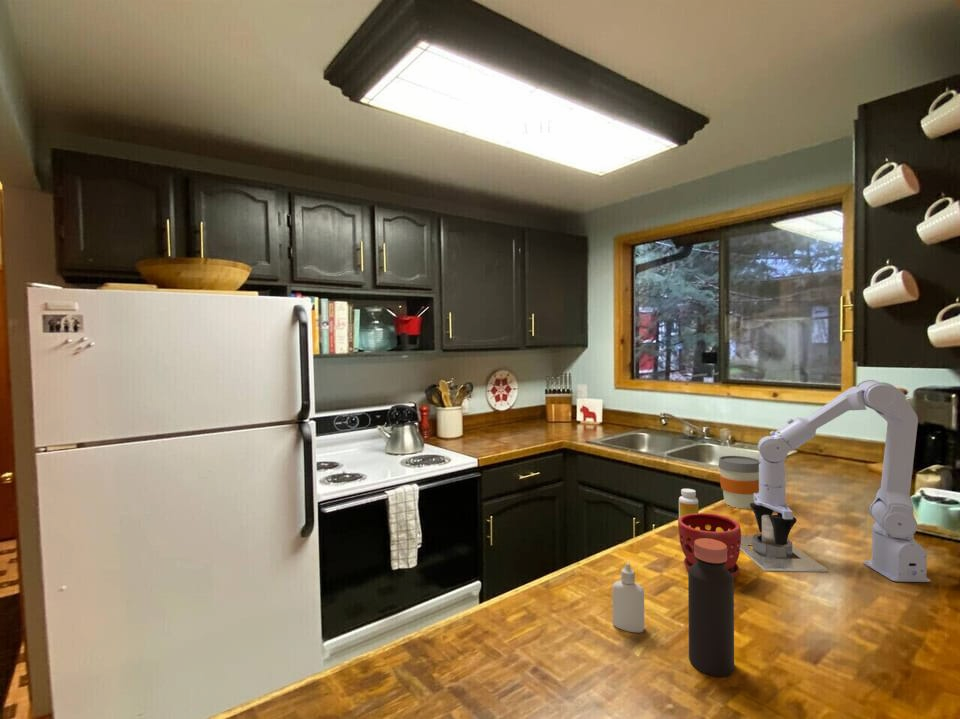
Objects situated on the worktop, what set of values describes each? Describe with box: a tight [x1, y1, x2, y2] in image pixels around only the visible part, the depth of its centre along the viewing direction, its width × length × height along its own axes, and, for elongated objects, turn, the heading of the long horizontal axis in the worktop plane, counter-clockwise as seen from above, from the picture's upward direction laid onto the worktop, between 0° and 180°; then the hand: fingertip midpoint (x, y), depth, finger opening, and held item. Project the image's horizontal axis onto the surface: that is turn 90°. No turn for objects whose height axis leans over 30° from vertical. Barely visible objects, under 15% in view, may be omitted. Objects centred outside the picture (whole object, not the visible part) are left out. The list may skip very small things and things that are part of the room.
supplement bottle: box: [678, 488, 699, 519], centre depth 141 cm, size 5×5×10 cm
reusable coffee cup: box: [718, 455, 760, 510], centre depth 157 cm, size 13×13×15 cm
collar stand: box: [740, 533, 828, 573], centre depth 120 cm, size 20×14×3 cm
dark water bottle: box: [687, 538, 735, 677], centre depth 78 cm, size 7×7×20 cm
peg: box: [761, 515, 783, 545], centre depth 120 cm, size 4×4×9 cm
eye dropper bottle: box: [611, 562, 645, 634], centre depth 89 cm, size 4×6×12 cm
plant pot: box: [677, 512, 742, 579], centre depth 110 cm, size 13×13×12 cm
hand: (772, 537), depth 120 cm, fingers open, 7 cm apart
